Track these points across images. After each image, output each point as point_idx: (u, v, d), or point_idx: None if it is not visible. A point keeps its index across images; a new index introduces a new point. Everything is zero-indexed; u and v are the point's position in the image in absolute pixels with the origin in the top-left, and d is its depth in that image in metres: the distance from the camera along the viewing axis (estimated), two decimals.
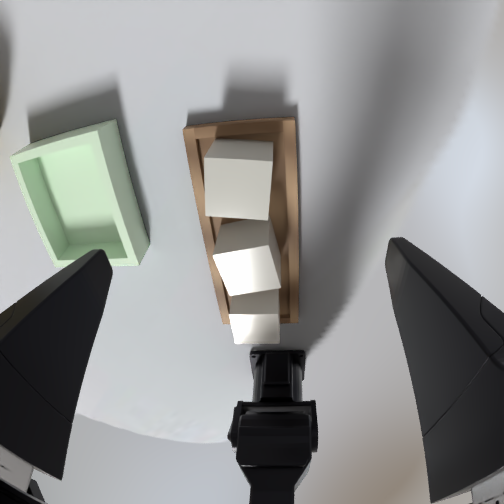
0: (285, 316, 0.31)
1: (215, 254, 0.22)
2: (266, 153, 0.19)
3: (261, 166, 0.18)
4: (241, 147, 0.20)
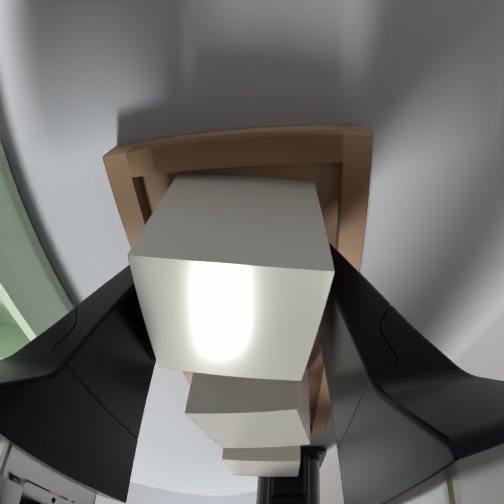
0: None
1: (190, 411, 0.10)
2: (308, 230, 0.07)
3: (299, 284, 0.06)
4: (238, 207, 0.08)
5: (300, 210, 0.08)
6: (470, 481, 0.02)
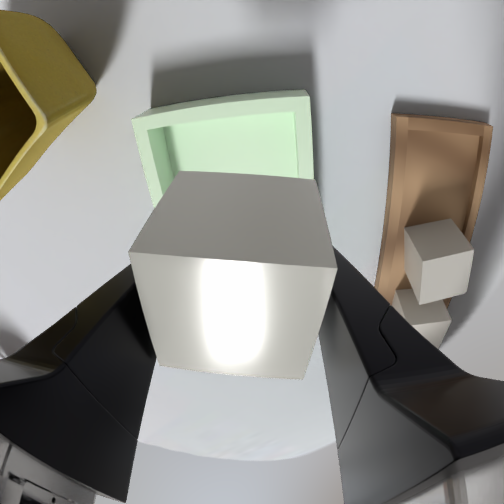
0: None
1: (425, 260, 0.18)
2: (310, 227, 0.07)
3: (301, 281, 0.06)
4: (239, 204, 0.08)
5: (302, 207, 0.08)
6: (470, 481, 0.02)
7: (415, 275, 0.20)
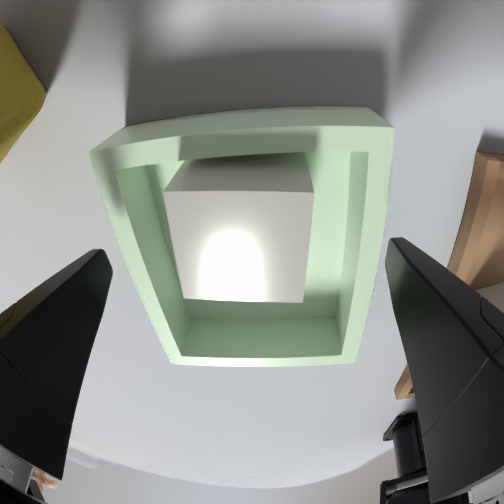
0: None
1: None
2: (296, 172, 0.09)
3: (289, 204, 0.08)
4: (243, 161, 0.10)
5: (290, 161, 0.10)
6: None
7: None
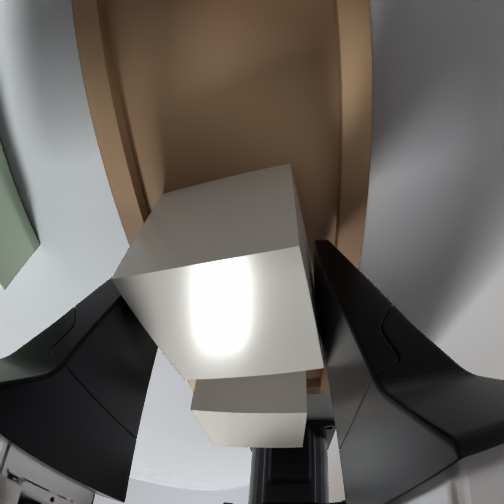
0: (311, 383, 0.15)
1: (119, 276, 0.06)
2: None
3: None
4: None
5: None
6: (473, 480, 0.02)
7: None
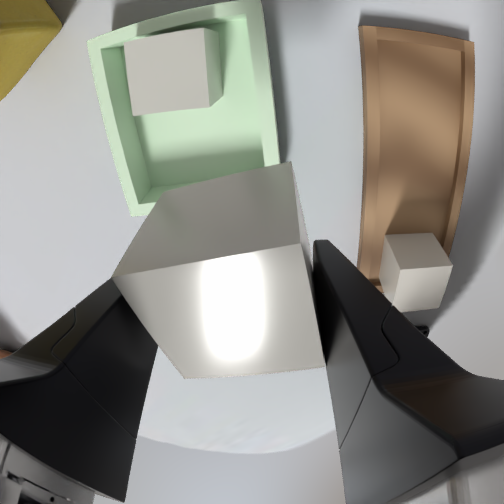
0: None
1: (119, 274, 0.06)
2: None
3: (190, 36, 0.12)
4: None
5: None
6: (473, 480, 0.02)
7: None
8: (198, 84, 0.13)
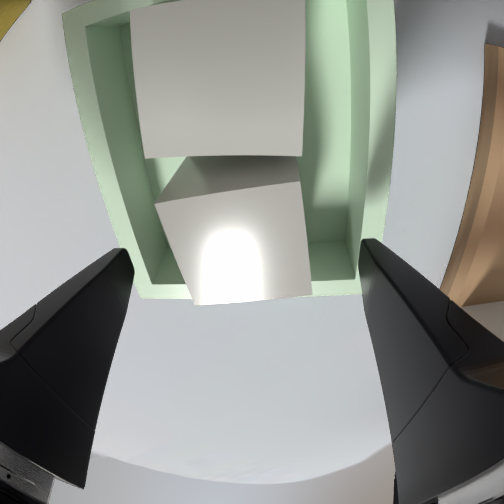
0: None
1: (161, 202, 0.09)
2: None
3: (277, 9, 0.05)
4: None
5: None
6: None
7: None
8: (284, 108, 0.07)
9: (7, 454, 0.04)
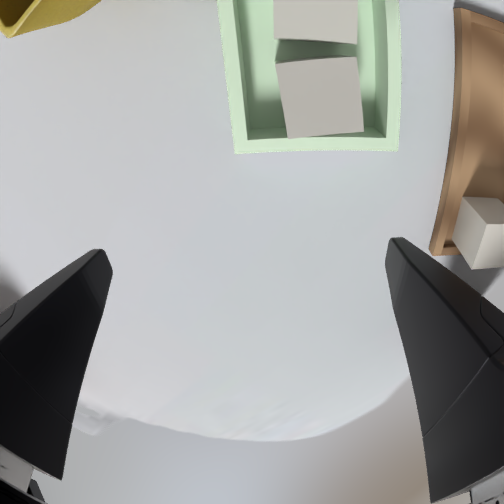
0: None
1: (279, 63, 0.13)
2: None
3: None
4: None
5: None
6: None
7: None
8: (348, 21, 0.11)
9: None
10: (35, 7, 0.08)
